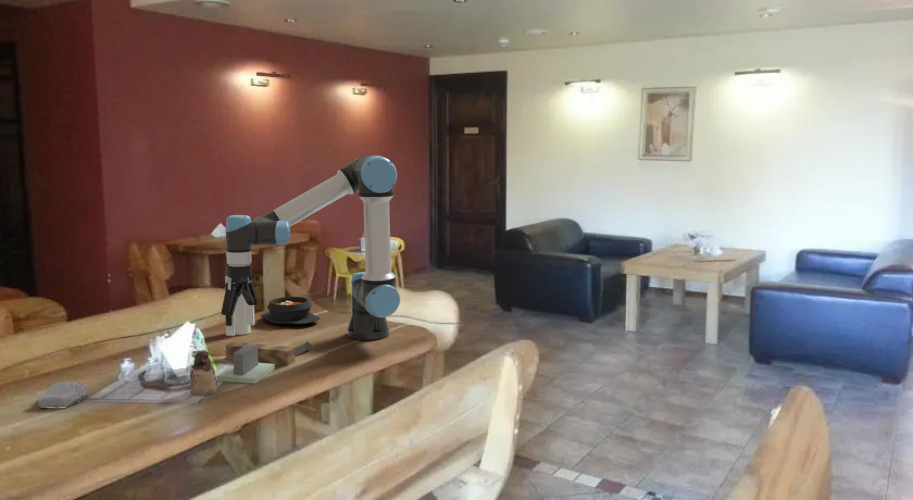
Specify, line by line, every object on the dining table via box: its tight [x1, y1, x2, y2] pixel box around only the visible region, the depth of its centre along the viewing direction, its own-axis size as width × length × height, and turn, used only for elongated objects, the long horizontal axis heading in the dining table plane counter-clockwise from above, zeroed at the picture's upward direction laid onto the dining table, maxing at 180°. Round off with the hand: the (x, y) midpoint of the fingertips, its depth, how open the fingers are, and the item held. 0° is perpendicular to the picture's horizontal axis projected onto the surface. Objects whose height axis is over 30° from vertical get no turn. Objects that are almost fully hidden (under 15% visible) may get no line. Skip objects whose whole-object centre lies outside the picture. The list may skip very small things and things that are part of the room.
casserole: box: [260, 296, 321, 326], centre depth 285 cm, size 25×19×8 cm
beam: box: [225, 341, 296, 366], centre depth 237 cm, size 22×4×5 cm, turn 74°
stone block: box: [37, 381, 90, 409], centre depth 200 cm, size 12×5×10 cm
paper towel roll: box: [224, 275, 252, 336], centre depth 267 cm, size 7×6×21 cm
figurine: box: [189, 349, 218, 396], centre depth 208 cm, size 7×7×12 cm
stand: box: [215, 343, 276, 384], centre depth 223 cm, size 12×14×8 cm
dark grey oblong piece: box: [293, 341, 312, 357], centre depth 244 cm, size 13×5×4 cm, turn 134°
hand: (240, 329), depth 237 cm, fingers open, 13 cm apart
